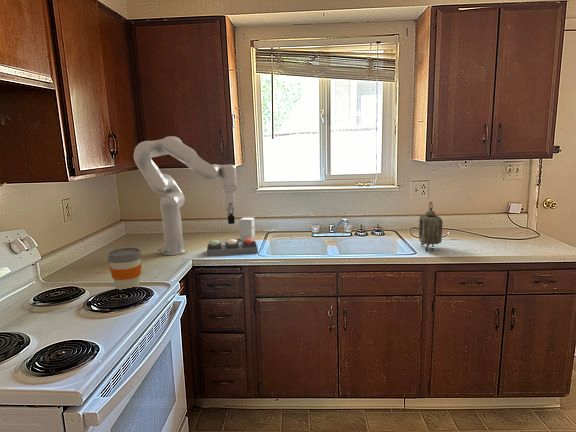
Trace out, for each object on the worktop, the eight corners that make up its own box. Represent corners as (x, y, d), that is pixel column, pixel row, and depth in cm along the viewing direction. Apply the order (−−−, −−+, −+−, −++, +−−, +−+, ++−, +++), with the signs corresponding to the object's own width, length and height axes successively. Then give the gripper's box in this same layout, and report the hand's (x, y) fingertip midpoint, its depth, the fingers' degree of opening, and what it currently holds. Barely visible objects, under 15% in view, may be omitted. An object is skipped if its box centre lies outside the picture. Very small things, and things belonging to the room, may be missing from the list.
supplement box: (251, 241, 236) (251, 219, 234) (239, 240, 238) (238, 219, 235) (255, 238, 243) (254, 217, 241) (243, 237, 245) (242, 217, 243)
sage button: (209, 246, 209) (209, 242, 209) (209, 244, 214) (209, 240, 214) (219, 246, 210) (219, 242, 210) (219, 243, 215) (219, 239, 215)
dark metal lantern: (418, 245, 221) (420, 199, 216) (435, 245, 219) (438, 199, 215) (422, 252, 207) (425, 204, 202) (441, 253, 205) (444, 204, 201)
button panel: (207, 256, 208) (206, 247, 207) (207, 250, 217) (207, 242, 216) (257, 252, 212) (257, 244, 211) (256, 247, 221) (255, 239, 221)
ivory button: (227, 245, 211) (227, 241, 210) (227, 243, 216) (227, 239, 215) (237, 244, 212) (236, 241, 211) (236, 242, 217) (236, 238, 216)
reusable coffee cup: (133, 293, 159) (130, 256, 156) (104, 292, 161) (100, 255, 158) (149, 282, 171) (146, 248, 168) (122, 281, 173) (119, 247, 171)
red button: (244, 244, 212) (244, 240, 212) (244, 242, 217) (244, 238, 217) (254, 243, 213) (254, 240, 213) (253, 241, 218) (253, 237, 218)
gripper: (222, 187, 216) (223, 219, 219) (222, 191, 199) (224, 225, 202) (236, 186, 217) (237, 218, 220) (237, 190, 200) (239, 224, 204)
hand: (231, 221), depth 211 cm, fingers open, 8 cm apart
